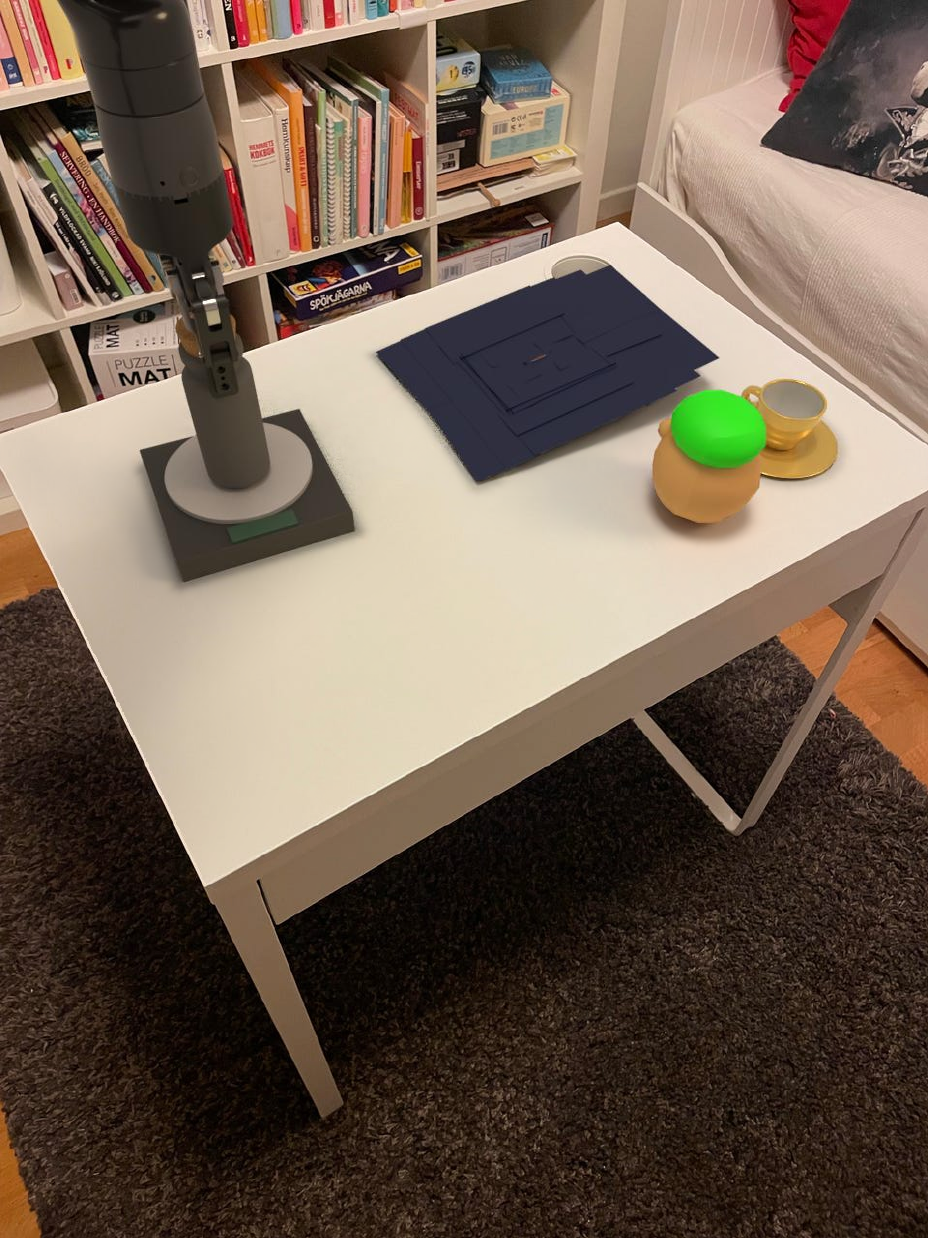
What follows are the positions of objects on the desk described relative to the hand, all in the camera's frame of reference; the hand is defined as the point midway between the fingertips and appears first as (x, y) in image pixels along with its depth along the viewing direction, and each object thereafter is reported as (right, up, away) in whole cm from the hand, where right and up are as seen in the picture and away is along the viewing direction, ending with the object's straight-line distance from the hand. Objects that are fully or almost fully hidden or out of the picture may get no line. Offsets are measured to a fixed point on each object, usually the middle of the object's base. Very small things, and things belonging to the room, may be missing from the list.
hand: (215, 371), depth 74 cm
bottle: (0, -7, +8) cm, 11 cm away
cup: (+53, -2, +17) cm, 56 cm away
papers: (+30, +6, +24) cm, 38 cm away
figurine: (+43, -9, +12) cm, 45 cm away
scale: (0, -9, +11) cm, 14 cm away
